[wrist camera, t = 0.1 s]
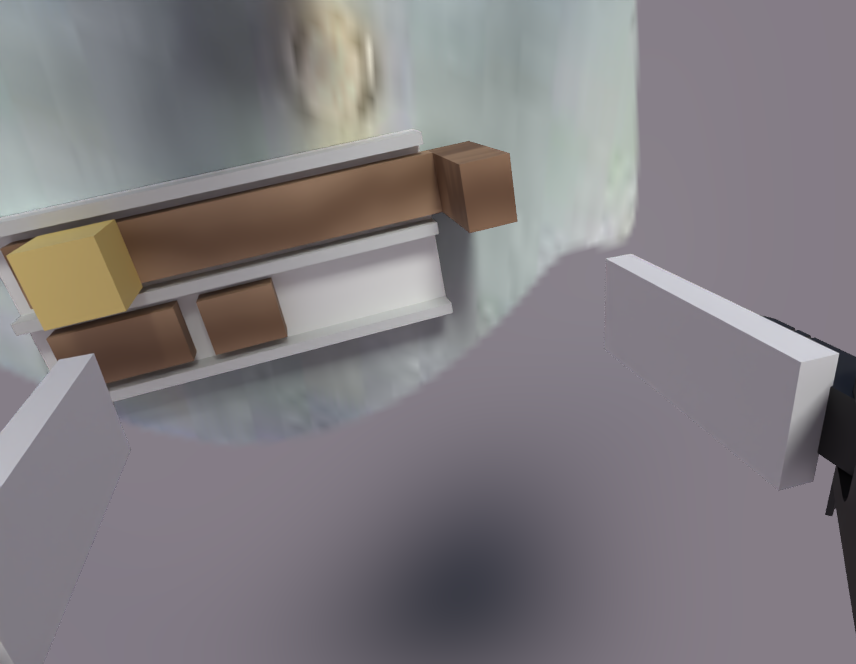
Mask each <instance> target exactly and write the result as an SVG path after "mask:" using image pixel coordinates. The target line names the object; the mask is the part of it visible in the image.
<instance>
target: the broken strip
mask: <svg viewBox="0 0 856 664" xmlns="http://www.w3.org/2000/svg"><path fill="white" fill-rule="evenodd" d="M196 304H197V306H198V309H199V312H200V314H201V317H202V320H203V322H204V325H205V328H206V330H207V333H208V336H209V338H210V341H211V344H212V346H213V349H214V351H215V354H216V355H219V354H223V353H226V352H230V351H234V350H238V349H242V348H246V347H250V346H254V345H257V344H261V343H265V342H269V341H273V340H277V339H281V338H285V337H287V326H286V323H285V320H284V316H283V313H282V310H281V307H280V304H279V300H278V297H277V294H276V291H275V287H274V284H273V281H272V278H271V277H270V278H266V279H262V280H258V281H254V282H250V283H246V284H241V285H237V286H233V287H229V288H225V289H221V290H217V291H213V292H208V293H204V294H200V295H199V296H198V299H197V301H196ZM46 340H47V342H48V344H49V346H50V348H51V350H52V352H53V354H54V356H55V358H56V359H57V361H58V360H60V359H65V358H71V357H76V356H81V355H87V354H92V353H94V355H95V357H96V360H97V362H98V365H99V368H100V370H101V373H102V375H103V378H104V381H105V383H110V382H114V381H118V380H122V379H126V378H129V377H133V376H137V375H141V374H145V373H149V372H153V371H157V370H160V369H164V368H168V367H172V366H176V365H180V364H184V363H188V362H191V361H194V359H195V356H196V353H197V350H196V348H195V345H194V343H193V340H192V337H191V335H190V332H189V330H188V327H187V325H186V322H185V320H184V317H183V315H182V312H181V309H180V307H179V304H178V302H177V300H175V301H171V302H167V303H163V304H159V305H155V306H151V307H147V308H143V309H138V310H134V311H130V312H126V313H122V314H118V315H114V316H110V317H105V318H101V319H97V320H93V321H89V322H85V323H81V324H77V325H72V326H68V327H64V328H60V329H56V330H54V331H53V332H52V333H51V334H50V336H49V337H48V338H47V339H46Z"/></svg>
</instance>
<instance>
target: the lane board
mask: <svg viewBox="0 0 856 664" xmlns="http://www.w3.org/2000/svg"><path fill="white" fill-rule="evenodd" d="M422 144H423V138H422V133H421V131H418V130H415V129H409V130H404V131H400V132H395V133H390V134H386V135H381V136H376V137H372V138H367V139H362V140H358V141H353V142H348V143H344V144H339V145H334V146H330V147H325V148H321V149H316V150H311V151H307V152H302V153H297V154H293V155H288V156H283V157H279V158H274V159H269V160H265V161H260V162H255V163H251V164H246V165H241V166H237V167H232V168H228V169H223V170H218V171H214V172H209V173H204V174H200V175H195V176H190V177H186V178H181V179H176V180H172V181H167V182H162V183H158V184H153V185H149V186H144V187H139V188H135V189H130V190H125V191H121V192H116V193H111V194H107V195H102V196H97V197H93V198H88V199H83V200H79V201H74V202H69V203H65V204H60V205H56V206H51V207H46V208H42V209H37V210H32V211H28V212H23V213H18V214H14V215H9V216H4V217H0V248H2V247H4V246H6V245H7V244H9V243H11V242H15V241H19V240H24V239H28V238H33V237H37V236H40V235H45V234H49V233H54V232H58V231H63V230H67V229H72V228H76V227H81V226H85V225H90V224H94V223H99V222H103V221H108V220H112V219H119V218H123V217H128V216H132V215H137V214H141V213H146V212H150V211H155V210H159V209H164V208H169V207H173V206H178V205H182V204H187V203H191V202H196V201H200V200H205V199H209V198H214V197H218V196H223V195H227V194H232V193H236V192H241V191H245V190H250V189H254V188H259V187H264V186H268V185H273V184H277V183H282V182H286V181H291V180H295V179H300V178H304V177H309V176H313V175H318V174H322V173H327V172H331V171H336V170H340V169H345V168H349V167H354V166H359V165H363V164H368V163H372V162H377V161H381V160H386V159H390V158H395V157H399V156H404V155H408V154H413V153H417V152H420V149H419V145H422ZM437 234H439V230H438V224H437V222H436V221H435V220H434V219H432V216H431V215H428V216H423V217H419V218H415V219H411V220H407V221H402V222H398V223H394V224H390V225H385V226H381V227H377V228H373V229H369V230H364V231H360V232H356V233H352V234H347V235H343V236H339V237H335V238H331V239H326V240H322V241H318V242H314V243H310V244H305V245H301V246H297V247H293V248H288V249H284V250H280V251H276V252H272V253H267V254H263V255H259V256H255V257H250V258H246V259H242V260H238V261H234V262H229V263H225V264H221V265H217V266H212V267H208V268H204V269H200V270H196V271H191V272H187V273H183V274H179V275H174V276H170V277H166V278H162V279H158V280H153V281H149V282H145V283H141V284H142V286H143V288H142V289H141V290H140V292H139V293H138V295H137V296H136V298H135V299H134V301H133V302H132V304H131V305H130V307H129V308H128V310H127V311H125V312H121V313H117V314H113V315H109V316H105V317H110V316H114V315H118V314H122V313H126V312H130V311H134V310H138V309H143V308H147V307H151V306H155V305H159V304H163V303H167V302H171V301H175V300H177V302H178V304H179V307H180V309H181V312H182V315H183V317H184V320H185V322H186V325H187V327H188V330H189V332H190V335H191V337H192V340H193V343H194V345H195V348H196V350H197V353H196V356H195V359H194V361H191V362H188V363H184V364H180V365H176V366H172V367H168V368H164V369H160V370H157V371H153V372H149V373H145V374H141V375H137V376H133V377H129V378H126V379H122V380H118V381H114V382H110V383H106V386H107V388H108V391H109V394H110V396H111V399H112V401H113V402H115V401H119V400H123V399H126V398H130V397H134V396H138V395H142V394H145V393H149V392H153V391H157V390H161V389H164V388H168V387H172V386H176V385H180V384H184V383H187V382H191V381H195V380H199V379H203V378H206V377H210V376H214V375H218V374H222V373H225V372H229V371H233V370H237V369H241V368H245V367H248V366H252V365H256V364H260V363H264V362H267V361H271V360H275V359H279V358H283V357H286V356H290V355H294V354H298V353H302V352H306V351H309V350H313V349H317V348H321V347H325V346H328V345H332V344H336V343H340V342H344V341H348V340H351V339H355V338H359V337H363V336H367V335H370V334H374V333H378V332H382V331H386V330H389V329H393V328H397V327H401V326H405V325H409V324H412V323H416V322H420V321H424V320H428V319H431V318H435V317H439V316H443V315H447V314H450V313H453V310H452V304H451V302H450V301H449V299H448V298H447V297H446V294H445V289H444V283H443V278H442V272H441V266H440V261H439V255H438V250H437V244H436V238H435V235H437ZM0 277H1V279H2V281H3V283H4V285H5V286H6V288H7V290H8V292H9V294H10V296H11V298H12V300H13V302H14V304H15V306H16V308H17V309H18V311H19V313H20V315H21V316H20V317H19V318H18V319H17V320H16V321H14V322H13V323H12V324H11V326H12V328H13V330H14V332H15V334H16V336H19V335H24V334H28V333H30V334H31V336H32V338H33V340H34V342H35V344H36V346H37V348H38V350H39V352H40V354H41V355H42V357H43V359H44V361H45V363H46V365H47V367H48V369H49V371H50V370H51V369H52V368H53V366H54V365H55V364H56V363H57V362H58V361H57V359H56V358H55V356H54V354H53V352H52V350H51V348H50V346H49V344H48V342H47V340H46V339H47V338H48V337H49V336H50V334H51V333H52V332H53V331H54V330H56V329H60V328H64V327H68V326H72V325H77V324H81V323H85V322H89V321H93V320H97V319H101V318H105V317H101V318H96V319H92V320H88V321H84V322H80V323H76V324H72V325H68V326H63V327H59V328H55V329H51V330H47V331H44V329H43V327H42V326H41V324H40V322H39V320H38V318H37V316H36V314H35V312H34V310H33V309H30V307H29V305H28V303H27V301H26V299H25V297H24V295H23V293H22V291H21V289H20V287H19V285H18V283H17V281H16V279H15V277H14V275H13V273H12V271H11V270H10V268H9V266H8V264H7V262H6V260H5V258H4V256H3V254H2V252H1V250H0ZM270 277H271V278H272V281H273V284H274V287H275V291H276V294H277V297H278V300H279V304H280V307H281V310H282V313H283V316H284V320H285V323H286V326H287V337H285V338H281V339H277V340H273V341H269V342H265V343H261V344H257V345H254V346H250V347H246V348H242V349H238V350H234V351H230V352H226V353H223V354H219V355H216V354H215V351H214V349H213V346H212V344H211V341H210V338H209V336H208V333H207V330H206V328H205V325H204V322H203V320H202V317H201V314H200V312H199V309H198V306H197V304H196V301H197V299H198V296H199V295H200V294H204V293H208V292H213V291H217V290H221V289H225V288H229V287H233V286H237V285H241V284H246V283H250V282H254V281H258V280H262V279H266V278H270Z"/></svg>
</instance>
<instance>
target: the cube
mask: <svg viewBox="0 0 856 664" xmlns="http://www.w3.org/2000/svg"><path fill="white" fill-rule="evenodd" d="M6 257H7V259H8V261H9V263H10V265H11V267H12V269H13V271H14V273H15V274H16V276H17V278H18V280H19V282H20V284H21V286H22V288H23V290H24V292H25V294H26V296H27V298H28V300H29V302H30V304H31V306H32V308H33V310H34V312H35V314H36V316H37V318H38V320H39V322H40V324H41V326H42V327H43V329H44V331H47V330H51V329H55V328H59V327H63V326H68V325H72V324H76V323H80V322H84V321H88V320H92V319H96V318H101V317H105V316H109V315H113V314H117V313H121V312H125V311H127V310H128V308H129V307H130V305H131V304H132V302H133V301H134V299H135V298H136V296H137V295H138V293H139V292H140V290H141V289H142V288H143V286H142V284H141V281H140V279H139V276H138V274H137V271H136V269H135V267H134V264H133V262H132V259H131V257H130V255H129V252H128V250H127V247H126V245H125V243H124V240H123V238H122V235H121V233H120V230H119V228H118V226H117V223H116V221H115V219H112V220H108V221H103V222H99V223H94V224H90V225H85V226H81V227H76V228H72V229H67V230H63V231H58V232H54V233H49V234H45V235H40V236H37V237H35V238H34V239H32V240H30V241H29V242H27V243H26V244H24V245H22V246H21V247H19V248H18V249H16V250H14V251H13V252H11V253H9V254H8V255H6Z"/></svg>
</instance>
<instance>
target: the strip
mask: <svg viewBox="0 0 856 664" xmlns="http://www.w3.org/2000/svg"><path fill="white" fill-rule="evenodd" d="M440 212H443V213H445V214H446V215H447V216H448V217H450V218H451V219H452V220H454V221H455V222H456V223H457V224H459V225H460V226H461V227H463V228H464V229H465V230H466V231H468V232H469V233H472V232H476V231H480V230H484V229H489V228H493V227H497V226H501V225H505V224H509V223H513V222H517V214H516V205H515V197H514V188H513V179H512V171H511V162H510V153H507V152H504V151H500V150H497V149H493V148H490V147H487V146H483V145H480V144H477V143H473V142H470V141H467V142H463V143H458V144H453V145H449V146H444V147H440V148H435V149H431V150H426V151H422V152H417V153H413V154H408V155H404V156H399V157H395V158H390V159H386V160H381V161H377V162H372V163H368V164H363V165H359V166H354V167H349V168H345V169H340V170H336V171H331V172H327V173H322V174H318V175H313V176H309V177H304V178H300V179H295V180H291V181H286V182H282V183H277V184H273V185H268V186H264V187H259V188H254V189H250V190H245V191H241V192H236V193H232V194H227V195H223V196H218V197H214V198H209V199H205V200H200V201H196V202H191V203H187V204H182V205H178V206H173V207H169V208H164V209H159V210H155V211H150V212H146V213H141V214H137V215H132V216H128V217H123V218H119V219H115V221H116V223H117V226H118V228H119V230H120V233H121V235H122V238H123V240H124V243H125V245H126V247H127V250H128V252H129V255H130V257H131V259H132V262H133V264H134V267H135V269H136V271H137V274H138V276H139V279H140V281H141V283H145V282H149V281H153V280H158V279H162V278H166V277H170V276H174V275H179V274H183V273H187V272H191V271H196V270H200V269H204V268H208V267H212V266H217V265H221V264H225V263H229V262H234V261H238V260H242V259H246V258H250V257H255V256H259V255H263V254H267V253H272V252H276V251H280V250H284V249H288V248H293V247H297V246H301V245H305V244H310V243H314V242H318V241H322V240H326V239H331V238H335V237H339V236H343V235H347V234H352V233H356V232H360V231H364V230H369V229H373V228H377V227H381V226H385V225H390V224H394V223H398V222H402V221H407V220H411V219H415V218H419V217H423V216H428V215H432V214H436V213H440ZM34 238H35V237H33V238H28V239H24V240H19V241H15V242H11V243H9V244H7V245H6V246H4V247H2V248H0V250H1V252H2V254H3V256H4V258H5V260H6V262H7V264H8V266H9V268H10V270H11V271H12V273H13V275H14V277H15V279H16V281H17V283H18V285H19V287H20V289H21V291H22V293H23V295H24V297H25V299H26V301H27V303H28V305H29V307H30V309H33V308H32V306H31V304H30V302H29V300H28V298H27V296H26V294H25V292H24V290H23V288H22V286H21V284H20V282H19V280H18V278H17V276H16V274H15V273H14V271H13V269H12V267H11V265H10V263H9V261H8V259H7V257H6V255H8V254H9V253H11V252H13V251H14V250H16V249H18V248H19V247H21V246H22V245H24V244H26V243H27V242H29V241H30V240H32V239H34Z"/></svg>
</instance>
